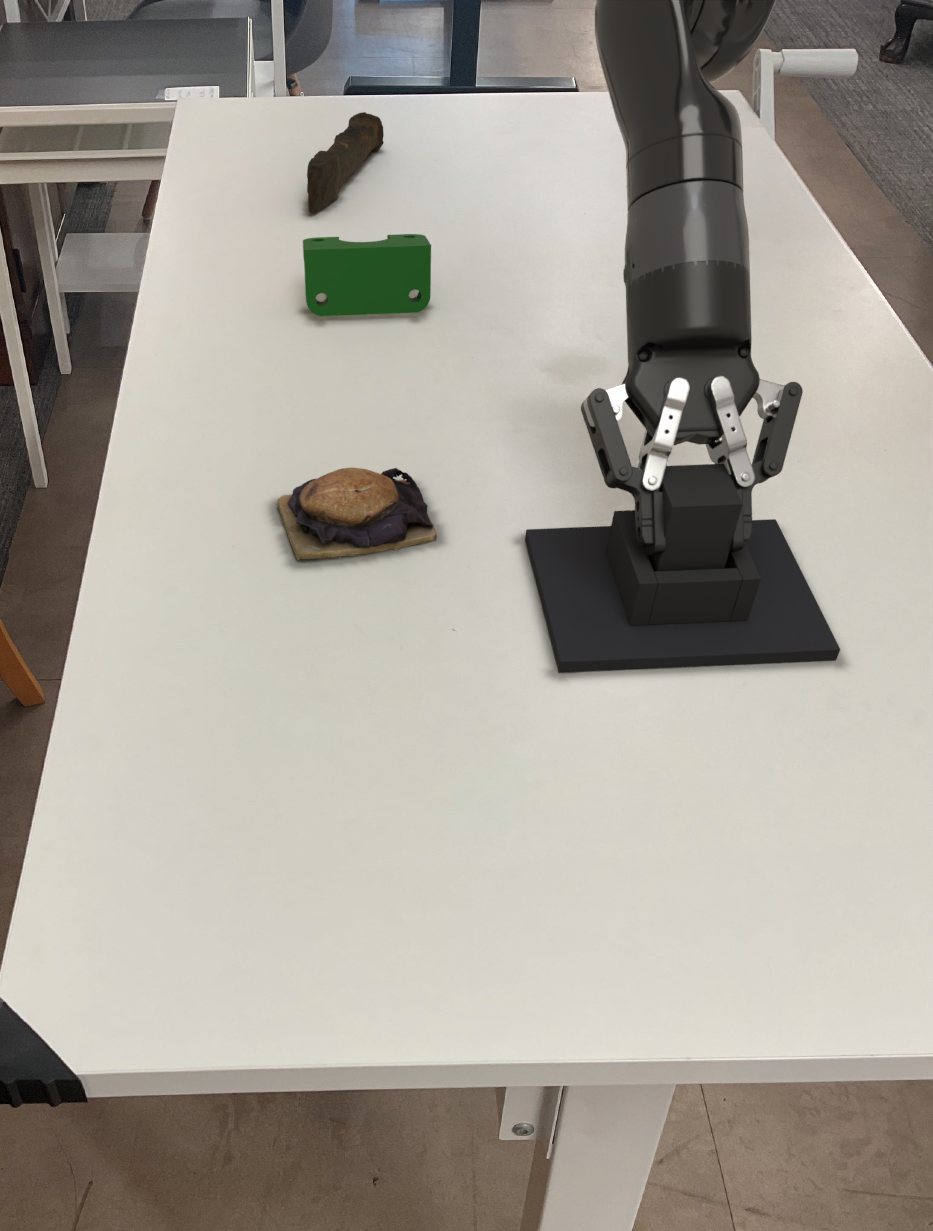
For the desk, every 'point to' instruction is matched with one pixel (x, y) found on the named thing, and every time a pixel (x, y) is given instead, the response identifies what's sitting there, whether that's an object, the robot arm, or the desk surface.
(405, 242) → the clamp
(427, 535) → the bread roll
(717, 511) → the rectangular block
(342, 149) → the dark brown lumpy bar
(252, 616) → the desk surface
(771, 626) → the base pad
